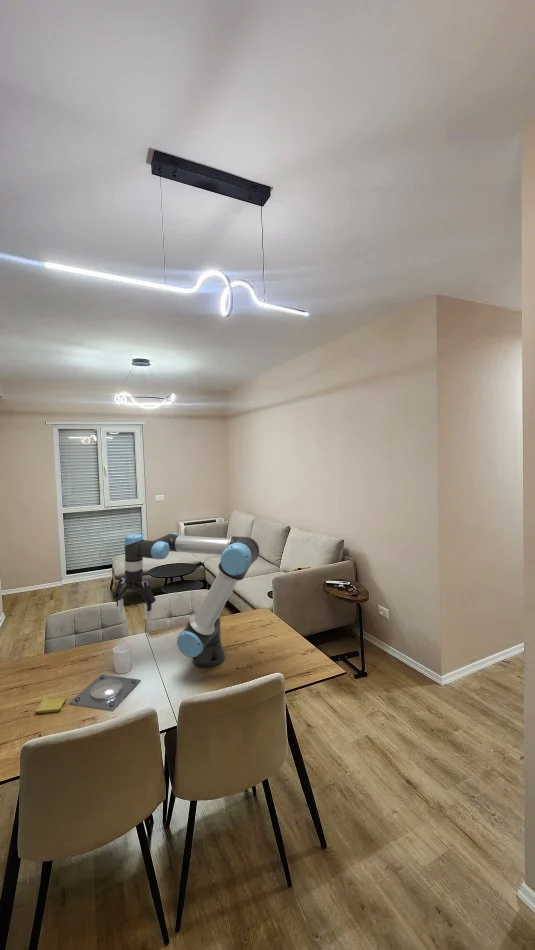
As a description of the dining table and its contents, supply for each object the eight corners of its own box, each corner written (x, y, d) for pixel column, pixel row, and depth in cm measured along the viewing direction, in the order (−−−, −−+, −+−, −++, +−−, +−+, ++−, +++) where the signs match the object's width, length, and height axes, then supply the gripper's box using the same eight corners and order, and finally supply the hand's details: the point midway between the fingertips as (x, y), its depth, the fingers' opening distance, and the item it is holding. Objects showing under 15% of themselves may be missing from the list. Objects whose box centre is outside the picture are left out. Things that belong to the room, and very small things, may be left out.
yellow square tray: (68, 699, 155) (68, 694, 155) (60, 713, 146) (60, 708, 146) (45, 701, 153) (44, 696, 153) (35, 716, 145) (35, 711, 145)
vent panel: (140, 681, 165) (140, 676, 165) (113, 711, 147) (112, 705, 147) (101, 676, 169) (100, 671, 169) (69, 704, 151) (69, 699, 151)
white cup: (126, 675, 170) (125, 653, 169) (110, 673, 171) (109, 651, 171) (136, 665, 177) (135, 644, 177) (120, 664, 179) (119, 642, 178)
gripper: (163, 569, 174) (163, 615, 176) (114, 563, 180) (115, 608, 182) (154, 574, 167) (154, 623, 168) (104, 568, 173) (104, 615, 175)
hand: (134, 615), depth 175 cm, fingers open, 13 cm apart
